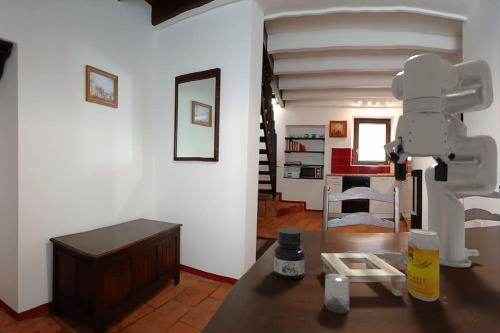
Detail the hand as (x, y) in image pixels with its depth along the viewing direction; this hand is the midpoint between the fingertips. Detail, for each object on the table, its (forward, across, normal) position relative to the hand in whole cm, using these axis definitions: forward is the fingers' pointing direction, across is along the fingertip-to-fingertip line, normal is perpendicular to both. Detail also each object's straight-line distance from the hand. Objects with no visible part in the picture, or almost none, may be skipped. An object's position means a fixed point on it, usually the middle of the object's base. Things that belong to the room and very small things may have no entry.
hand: (420, 180), depth 59 cm
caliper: (+27, 0, -21) cm, 34 cm away
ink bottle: (+27, +29, -12) cm, 41 cm away
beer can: (+27, -1, 0) cm, 27 cm away
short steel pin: (+27, +21, +5) cm, 35 cm away
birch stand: (+27, +12, -6) cm, 30 cm away
